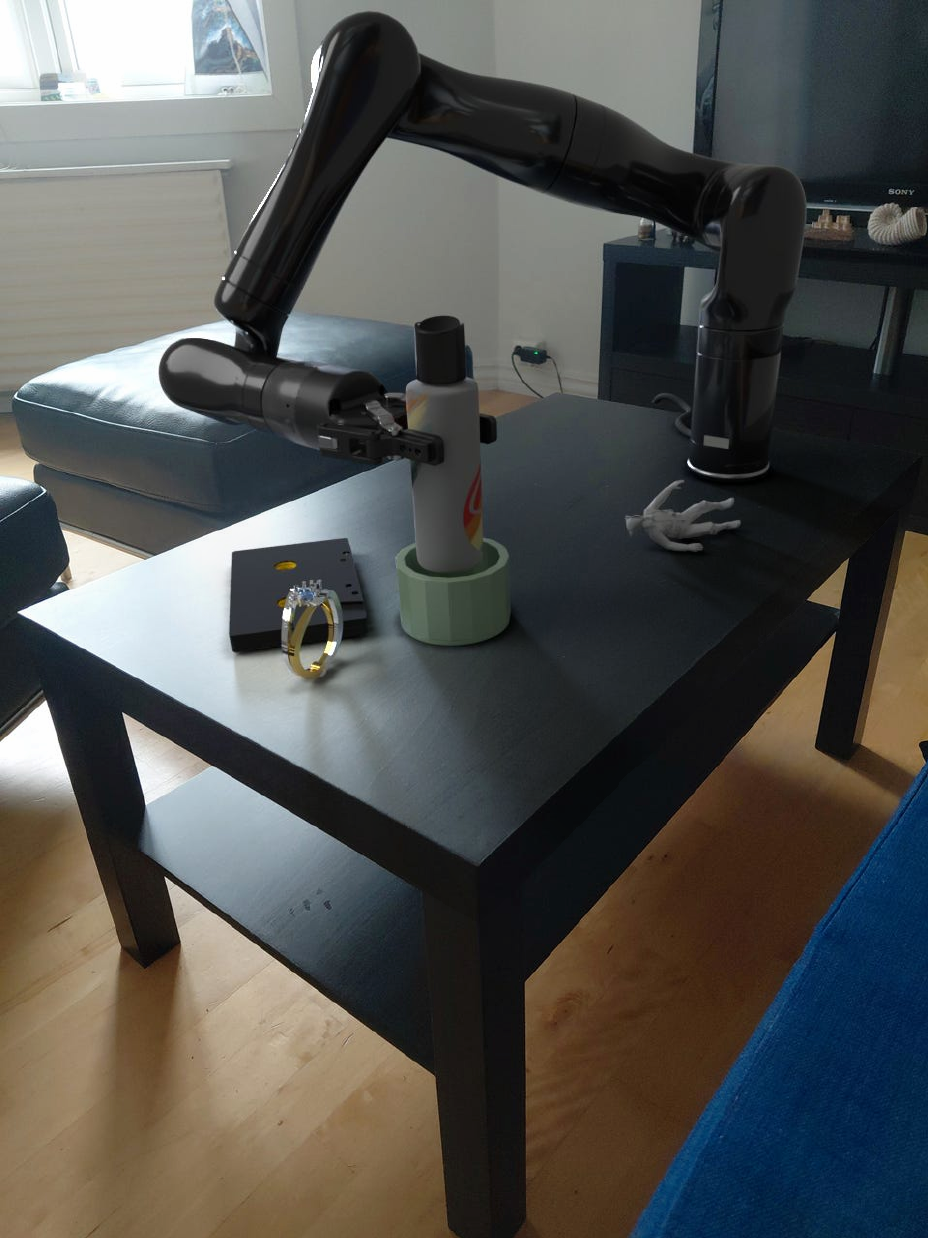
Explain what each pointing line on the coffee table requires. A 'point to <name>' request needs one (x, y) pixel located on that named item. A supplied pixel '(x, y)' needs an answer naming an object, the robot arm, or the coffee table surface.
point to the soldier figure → (678, 521)
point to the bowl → (455, 598)
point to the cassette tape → (273, 575)
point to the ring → (293, 642)
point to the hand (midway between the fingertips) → (467, 440)
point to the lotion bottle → (446, 450)
